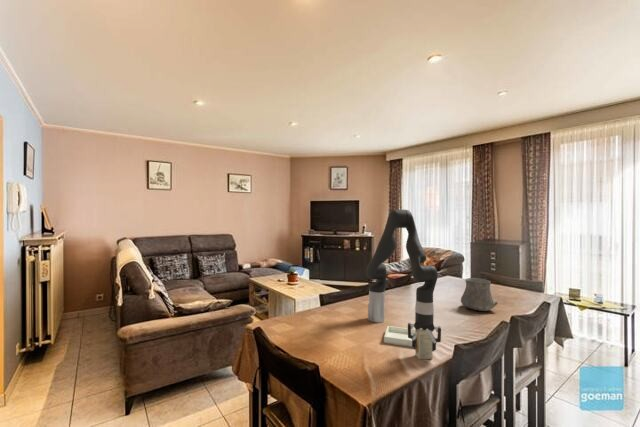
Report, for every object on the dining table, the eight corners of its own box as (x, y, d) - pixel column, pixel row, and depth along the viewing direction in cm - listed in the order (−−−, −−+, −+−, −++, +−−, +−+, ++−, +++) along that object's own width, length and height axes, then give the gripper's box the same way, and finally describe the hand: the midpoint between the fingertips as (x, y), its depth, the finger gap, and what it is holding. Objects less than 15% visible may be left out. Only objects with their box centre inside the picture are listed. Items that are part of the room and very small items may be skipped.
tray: (383, 342, 147) (384, 336, 147) (387, 331, 162) (387, 325, 162) (432, 350, 140) (432, 343, 140) (431, 337, 155) (431, 331, 155)
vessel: (495, 317, 190) (495, 284, 190) (457, 310, 204) (457, 280, 204) (499, 309, 207) (500, 279, 208) (464, 303, 221) (465, 275, 221)
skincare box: (428, 354, 135) (429, 327, 135) (432, 359, 130) (433, 330, 131) (414, 354, 134) (415, 326, 135) (418, 359, 130) (418, 330, 130)
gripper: (406, 311, 131) (406, 350, 131) (442, 315, 127) (442, 355, 127) (407, 307, 139) (407, 343, 138) (441, 310, 134) (441, 348, 134)
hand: (423, 349), depth 132 cm, fingers closed on skincare box, 7 cm apart
